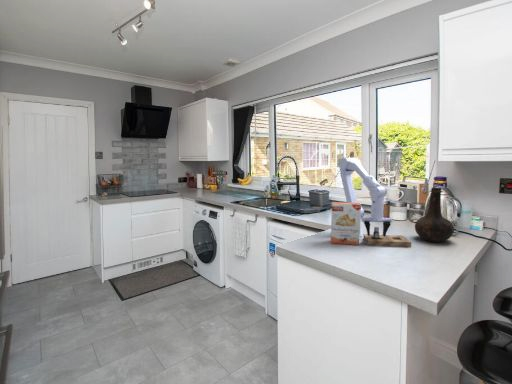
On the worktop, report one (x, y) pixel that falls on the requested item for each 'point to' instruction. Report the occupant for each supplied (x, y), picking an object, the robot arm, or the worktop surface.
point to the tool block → (387, 241)
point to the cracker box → (345, 223)
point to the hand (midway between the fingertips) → (376, 235)
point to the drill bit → (376, 233)
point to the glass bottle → (434, 221)
